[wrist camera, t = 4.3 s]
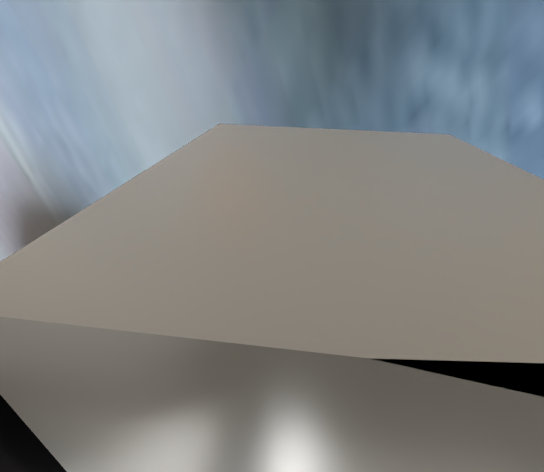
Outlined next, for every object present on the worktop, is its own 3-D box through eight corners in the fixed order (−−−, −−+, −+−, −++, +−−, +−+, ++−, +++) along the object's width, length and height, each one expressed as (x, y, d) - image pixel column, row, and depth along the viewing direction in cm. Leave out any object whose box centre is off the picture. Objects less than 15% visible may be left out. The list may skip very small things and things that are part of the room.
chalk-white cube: (391, 305, 13) (500, 620, 6) (230, 289, 14) (137, 554, 6) (449, 134, 9) (1084, 439, 2) (219, 123, 10) (-75, 308, 2)
